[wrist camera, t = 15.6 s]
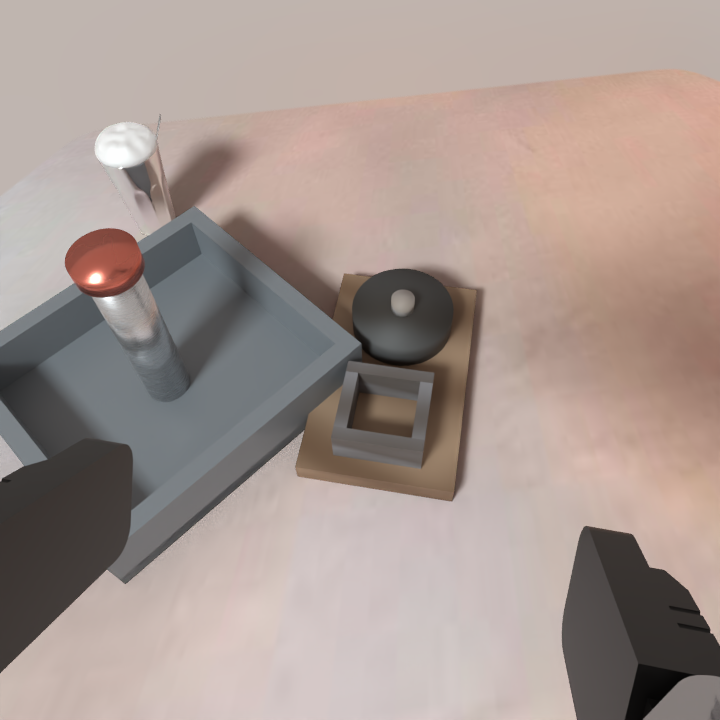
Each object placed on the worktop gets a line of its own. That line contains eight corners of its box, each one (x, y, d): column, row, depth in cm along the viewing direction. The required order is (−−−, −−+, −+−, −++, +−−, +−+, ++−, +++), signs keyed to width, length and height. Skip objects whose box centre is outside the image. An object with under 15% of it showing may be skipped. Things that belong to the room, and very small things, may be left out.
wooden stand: (345, 285, 52) (342, 246, 48) (474, 302, 51) (481, 263, 47) (297, 476, 43) (289, 446, 39) (451, 501, 42) (459, 473, 38)
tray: (207, 246, 54) (194, 205, 50) (362, 379, 47) (361, 343, 43) (-19, 399, 47) (-54, 365, 43) (125, 584, 40) (98, 562, 36)
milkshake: (196, 235, 55) (163, 135, 47) (130, 247, 54) (85, 148, 46) (190, 197, 57) (158, 96, 49) (127, 208, 57) (84, 108, 48)
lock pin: (174, 350, 48) (112, 217, 36) (207, 382, 46) (152, 254, 35) (130, 383, 46) (51, 255, 35) (162, 417, 45) (90, 295, 34)
